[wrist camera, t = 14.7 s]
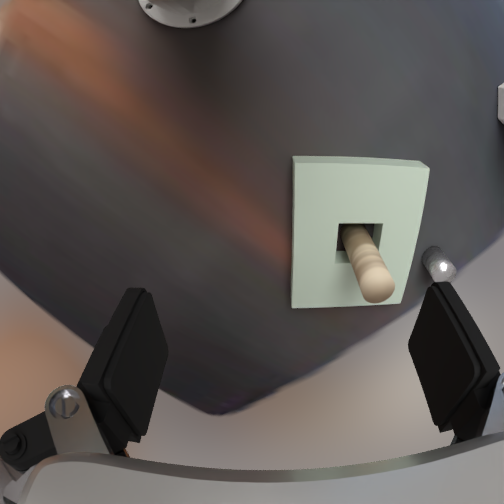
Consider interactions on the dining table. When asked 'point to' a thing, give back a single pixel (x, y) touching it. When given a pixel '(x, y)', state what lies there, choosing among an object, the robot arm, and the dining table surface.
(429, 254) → the steel pin
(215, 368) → the dining table surface
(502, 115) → the jar
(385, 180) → the hole board
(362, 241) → the birch pin
